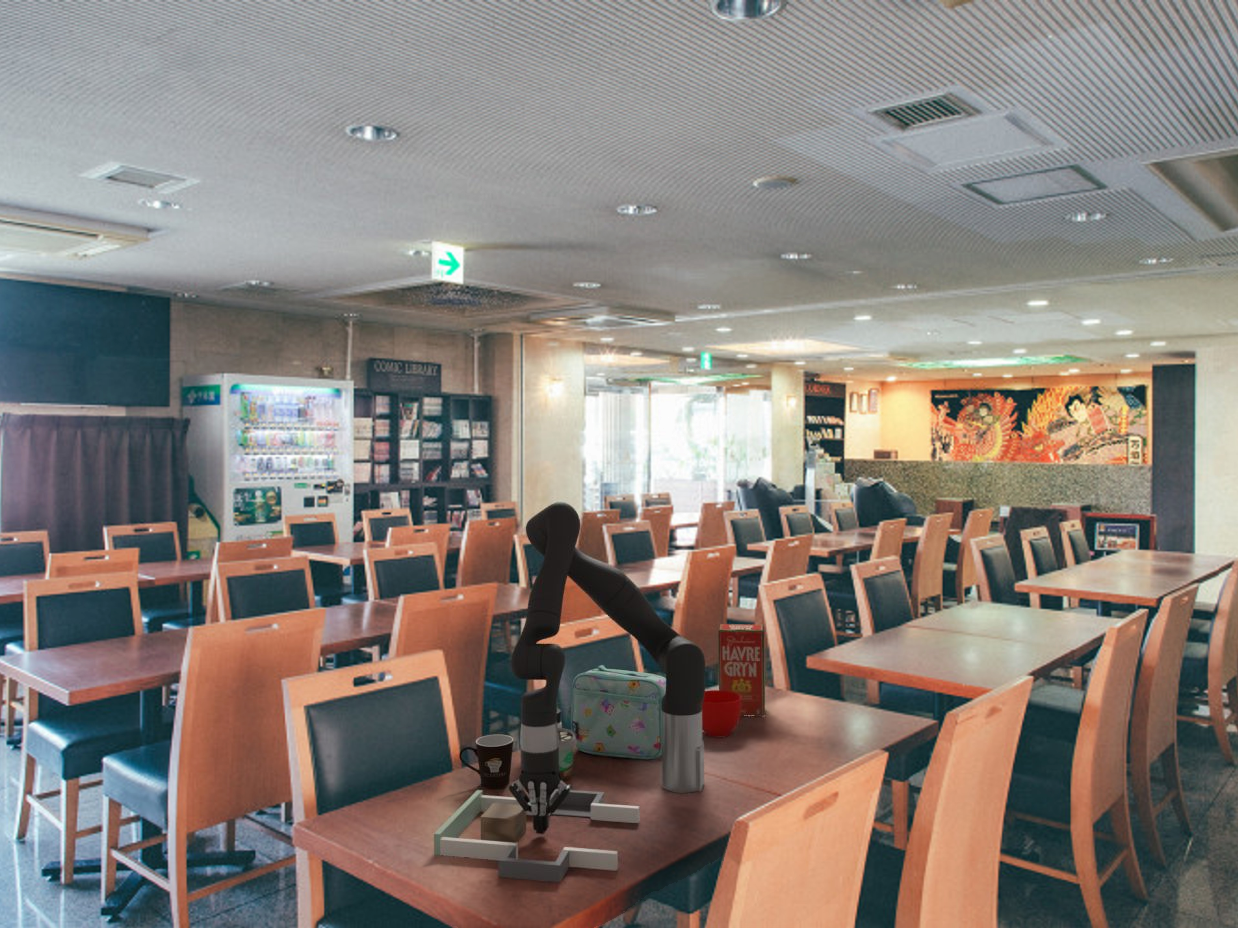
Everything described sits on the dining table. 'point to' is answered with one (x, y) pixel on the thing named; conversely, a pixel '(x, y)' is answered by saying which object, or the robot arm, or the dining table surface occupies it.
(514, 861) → the track
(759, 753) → the dining table surface
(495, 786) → the coffee mug
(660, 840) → the dining table surface
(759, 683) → the food packaging
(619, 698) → the lunch box
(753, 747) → the dining table surface
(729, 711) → the ceramic cup
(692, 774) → the robot arm
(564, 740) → the food container
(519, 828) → the walnut block
